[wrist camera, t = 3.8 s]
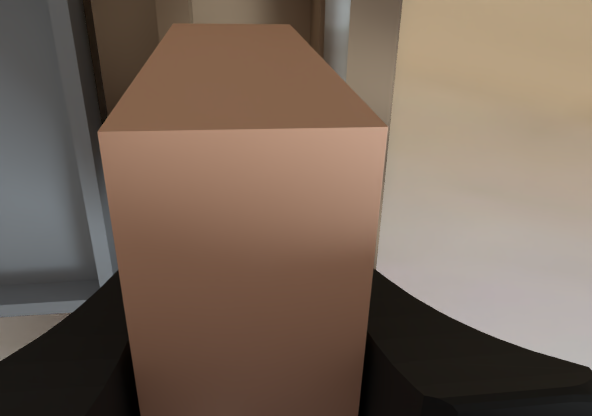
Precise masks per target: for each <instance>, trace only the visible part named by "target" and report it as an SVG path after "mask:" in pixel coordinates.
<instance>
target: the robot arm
mask: <svg viewBox="0 0 592 416" xmlns="http://www.w3.org/2000/svg"><path fill="white" fill-rule="evenodd" d="M0 416H141V415H140V408H139V402H138V395H137V389H136V382H135V375H134V369H133V362H132V356H131V349H130V343H129V336H128V330H127V323H126V316H125V310H124V303H123V297H122V290H121V284H120V277H119V271H118V270H117V271H116V272H115V273H114V274H113V275H112V276H111V277H110V278H109V279H108V280H107V282H106V283H105V284H104V285H103V286H102V287H101V288H99V289H98V290H97V291H96V292H95V293H94V294H93V295H92V296H91V297H90V298H88V299H87V300H86V301H85V302H84V303H83V304H82V305H81V306H80V307H78V308H77V309H76V310H75V311H74V312H72V313H71V314H70V315H69V316H67V317H66V318H65V319H63V320H62V321H61V322H59V323H58V324H57V325H55V326H54V327H53V328H51V329H50V330H48V331H47V332H46V333H44V334H43V335H41V336H40V337H39V338H37V339H36V340H34V341H32V342H31V343H29V344H28V345H26V346H24V347H23V348H21V349H19V350H18V351H16V352H15V353H13V354H11V355H10V356H8V357H7V358H5V359H3V360H2V361H0ZM358 416H592V370H591V369H590V368H589V367H586V366H583V365H579V364H576V363H572V362H569V361H565V360H562V359H558V358H555V357H551V356H548V355H544V354H541V353H537V352H534V351H531V350H528V349H525V348H522V347H520V346H517V345H514V344H511V343H509V342H506V341H503V340H500V339H498V338H495V337H493V336H490V335H488V334H485V333H483V332H481V331H478V330H476V329H474V328H472V327H470V326H467V325H465V324H463V323H461V322H459V321H457V320H455V319H452V318H451V317H449V316H447V315H445V314H443V313H441V312H439V311H437V310H435V309H434V308H432V307H430V306H429V305H427V304H425V303H423V302H422V301H420V300H418V299H416V298H415V297H413V296H412V295H410V294H409V293H407V292H406V291H404V290H403V289H401V288H400V287H398V286H397V285H396V284H394V283H393V282H391V281H390V280H388V279H387V278H386V277H384V276H383V275H382V274H380V273H379V272H378V271H377V270H375V269H374V268H373V278H372V287H371V297H370V306H369V316H368V325H367V335H366V344H365V354H364V363H363V373H362V382H361V392H360V401H359V411H358Z"/></svg>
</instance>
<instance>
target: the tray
mask: <svg viewBox="0 0 592 416" xmlns="http://www.w3.org/2000/svg"><path fill="white" fill-rule="evenodd" d="M101 126H102V122H101V115H100V109H99V103H98V96H97V90H96V83H95V77H94V70H93V64H92V58H91V51H90V45H89V38H88V32H87V25H86V19H85V12H84V6H83V0H0V317H12V316H28V315H43V314H59V313H72V312H74V311H75V310H76V309H77V308H78V307H80V306H81V305H82V304H83V303H84V302H85V301H86V300H87V299H88V298H90V297H91V296H92V295H93V294H94V293H95V292H96V291H97V290H98V289H99V288H101V287H102V286H103V285H104V284H105V283H106V282H107V280H108V279H109V278H110V277H111V276H112V275H113V274H114V273H115V272H116V271H117V270H118V264H117V257H116V251H115V244H114V238H113V231H112V225H111V218H110V212H109V205H108V198H107V192H106V185H105V179H104V172H103V166H102V159H101V153H100V146H99V139H98V133H97V132H98V130H99V129H100V127H101Z"/></svg>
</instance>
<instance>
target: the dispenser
mask: <svg viewBox="0 0 592 416" xmlns="http://www.w3.org/2000/svg"><path fill="white" fill-rule="evenodd" d="M91 7H92V14H93V21H94V27H95V34H96V41H97V47H98V54H99V61H100V68H101V74H102V81H103V88H104V94H105V101H106V108H107V115H108V116H109V114H110V113H111V112H112V110H113V109H114V107H115V106H116V104H117V103H118V102H119V100H120V99H121V97H122V96H123V94H124V93H125V92H126V90H127V89H128V87H129V86H130V84H131V83H132V82H133V80H134V79H135V77H136V76H137V74H138V73H139V72H140V70H141V69H142V67H143V66H144V64H145V63H146V62H147V60H148V59H149V57H150V56H151V54H152V53H153V52H154V50H155V49H156V47H157V46H158V44H159V43H160V41H161V40H162V39H163V37H164V36H165V34H166V33H167V31H168V30H169V29H170V27H171V26H172V24H173V23H190V24H290V25H291V26H292V27H293V28H294V29H295V30H296V31H297V32H298V33H299V34H300V35H301V36H302V37H303V39H304V40H305V41H306V42H307V43H308V44H309V45H310V46H311V47H312V48H313V49H314V50H315V51H316V52H317V53H318V54H319V55H320V56H321V57H322V58H323V59H324V60H325V61H326V63H327V64H328V65H329V66H330V67H331V68H332V69H333V70H334V71H335V72H336V73H337V74H338V75H339V76H340V77H341V78H342V79H343V80H344V81H345V82H346V83H347V84H348V85H349V86H350V88H351V89H352V90H353V91H354V92H355V93H356V94H357V95H358V96H359V97H360V98H361V99H362V100H363V101H364V102H365V103H366V104H367V105H368V106H369V107H370V108H371V109H372V110H373V112H374V113H375V114H376V115H377V116H378V117H379V118H380V119H381V120H382V121H383V122H384V123H385V124H386V125H387V126H388V134H387V144H386V154H385V163H384V173H383V182H382V192H381V201H380V211H379V220H378V230H377V239H376V249H375V258H374V269H375V270H376V263H377V253H378V243H379V232H380V222H381V212H382V202H383V192H384V182H385V172H386V162H387V151H388V141H389V131H390V121H391V111H392V101H393V91H394V80H395V70H396V60H397V50H398V40H399V30H400V20H401V10H402V0H91Z"/></svg>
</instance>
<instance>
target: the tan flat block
mask: <svg viewBox="0 0 592 416" xmlns="http://www.w3.org/2000/svg"><path fill="white" fill-rule="evenodd" d="M97 133H98V139H99V146H100V153H101V159H102V166H103V172H104V179H105V185H106V192H107V198H108V205H109V212H110V218H111V225H112V231H113V238H114V244H115V251H116V257H117V264H118V271H119V277H120V284H121V290H122V297H123V303H124V310H125V316H126V323H127V330H128V336H129V343H130V349H131V356H132V362H133V369H134V375H135V382H136V389H137V395H138V402H139V408H140V415H141V416H358V411H359V401H360V392H361V382H362V373H363V363H364V354H365V344H366V335H367V325H368V316H369V306H370V297H371V287H372V278H373V268H374V258H375V249H376V239H377V230H378V220H379V211H380V201H381V192H382V182H383V173H384V163H385V154H386V144H387V134H388V126H387V125H386V124H385V123H384V122H383V121H382V120H381V119H380V118H379V117H378V116H377V115H376V114H375V113H374V112H373V110H372V109H371V108H370V107H369V106H368V105H367V104H366V103H365V102H364V101H363V100H362V99H361V98H360V97H359V96H358V95H357V94H356V93H355V92H354V91H353V90H352V89H351V88H350V86H349V85H348V84H347V83H346V82H345V81H344V80H343V79H342V78H341V77H340V76H339V75H338V74H337V73H336V72H335V71H334V70H333V69H332V68H331V67H330V66H329V65H328V64H327V63H326V61H325V60H324V59H323V58H322V57H321V56H320V55H319V54H318V53H317V52H316V51H315V50H314V49H313V48H312V47H311V46H310V45H309V44H308V43H307V42H306V41H305V40H304V39H303V37H302V36H301V35H300V34H299V33H298V32H297V31H296V30H295V29H294V28H293V27H292V26H291V25H290V24H190V23H173V24H172V26H171V27H170V29H169V30H168V31H167V33H166V34H165V36H164V37H163V39H162V40H161V41H160V43H159V44H158V46H157V47H156V49H155V50H154V52H153V53H152V54H151V56H150V57H149V59H148V60H147V62H146V63H145V64H144V66H143V67H142V69H141V70H140V72H139V73H138V74H137V76H136V77H135V79H134V80H133V82H132V83H131V84H130V86H129V87H128V89H127V90H126V92H125V93H124V94H123V96H122V97H121V99H120V100H119V102H118V103H117V104H116V106H115V107H114V109H113V110H112V112H111V113H110V114H109V116H108V117H107V119H106V120H105V122H104V123H103V124H102V126H101V127H100V129H99V130H98V132H97Z"/></svg>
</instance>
